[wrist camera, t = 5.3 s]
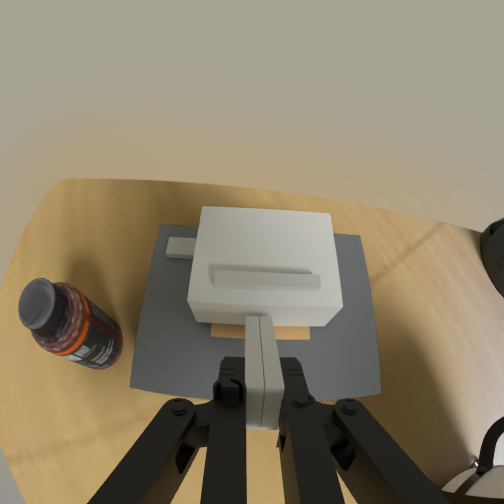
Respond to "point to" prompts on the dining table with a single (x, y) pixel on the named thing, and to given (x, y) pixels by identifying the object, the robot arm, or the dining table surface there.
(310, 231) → the hatch door
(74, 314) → the supplement bottle
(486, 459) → the coffee press
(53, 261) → the dining table surface
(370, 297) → the gray box
